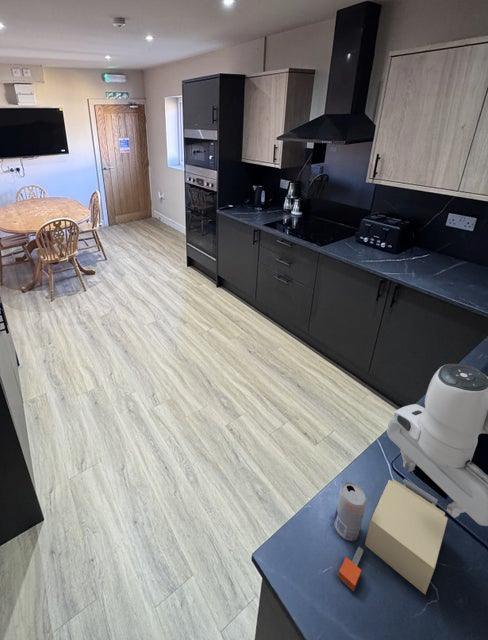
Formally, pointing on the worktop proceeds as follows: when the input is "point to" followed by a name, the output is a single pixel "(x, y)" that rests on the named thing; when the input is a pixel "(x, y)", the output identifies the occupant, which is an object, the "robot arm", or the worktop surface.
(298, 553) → the worktop surface
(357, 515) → the energy drink
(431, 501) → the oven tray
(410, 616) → the worktop surface
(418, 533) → the tan cardboard carton
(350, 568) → the orange stamp with handle
